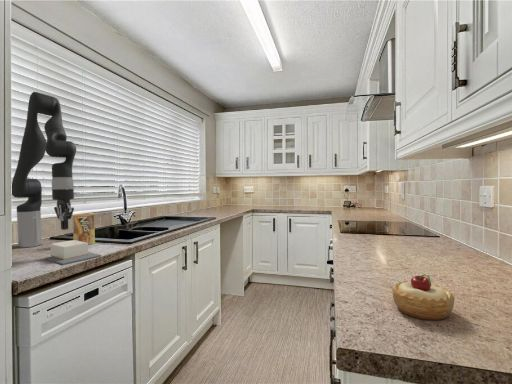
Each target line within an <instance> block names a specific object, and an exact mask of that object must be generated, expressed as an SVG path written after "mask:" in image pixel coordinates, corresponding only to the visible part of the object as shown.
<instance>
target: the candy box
mask: <svg viewBox="0 0 512 384" xmlns="http://www.w3.org/2000/svg"><path fill="white" fill-rule="evenodd" d="M95 233H96V232H95V213H92V212H91V213H79V214H77V213H76V214H72V237H73V238H72V239H73V240H77V241H81V242H86V243H88V246H89V245H95V244H96V238H95V237H96V236H95V235H96V234H95Z"/></svg>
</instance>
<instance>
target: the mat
mask: <svg viewBox="0 0 512 384" xmlns="http://www.w3.org/2000/svg"><path fill="white" fill-rule="evenodd" d="M100 257H102V254H99V253H95V252H90V251H88V255H85V256H80V257H76V258H71V259H66V260H63V259H59V258H56V257H53V256H51V255H50V256H47V257H45V258H44V259H45V260H46V261H50V262H53V263H57V264H58V265H59V264H60V265H62V266H65V265H69V264H73V263H80V262H82V261H87V260H91V259H96V258H100Z"/></svg>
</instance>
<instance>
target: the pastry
mask: <svg viewBox="0 0 512 384" xmlns="http://www.w3.org/2000/svg"><path fill="white" fill-rule="evenodd" d="M391 289H392V298H393V302H394V304H395V306H396V307H397V309H398V310H399V311H401V313H403V314H405V315H407V316H410V317H413V318H416V319H419V320H425V321H443V320H445V319H446V318H448V317H449V316H450V315H451V313H452V311H453V309H454V305H455V296H454V295H453V294H452V293H451V291H450V290H449V289H446V288H445V287H443V286H439V285H438V284H432V281H431V278H430V275H428V274H427V273H424V274H422V275H415V276H413V277H411V278H410V281H407V280H405V281H399V282H397V283H396V284H394V285H393V287H392V288H391Z"/></svg>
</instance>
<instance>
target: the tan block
mask: <svg viewBox="0 0 512 384" xmlns="http://www.w3.org/2000/svg"><path fill="white" fill-rule="evenodd" d="M49 245H50V257H51V256H53V257H56V258H59V259H63V260H66V259H71V258H76V257H80V256H85V255H88V252H89V245H88V243H86V242H81V241H77V240H67V241H60V242H59V241H58V242H53V243H50V244H49Z"/></svg>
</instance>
